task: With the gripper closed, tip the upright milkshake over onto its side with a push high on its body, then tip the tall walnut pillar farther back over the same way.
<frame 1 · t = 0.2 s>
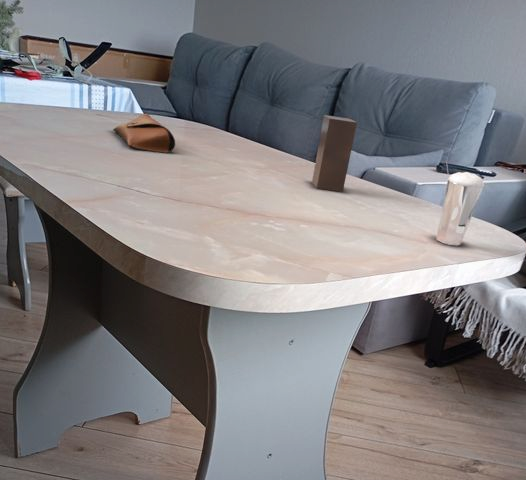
walnut pillar: (327, 187, 104), on the table
sunglasses case: (141, 142, 116), on the table
milkshake: (444, 242, 83), on the table
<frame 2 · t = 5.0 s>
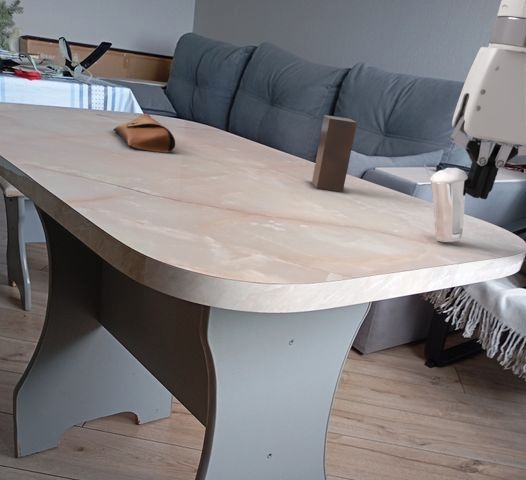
hand: (475, 195, 80), 6 cm above the table, tool pointing down, fingers closed
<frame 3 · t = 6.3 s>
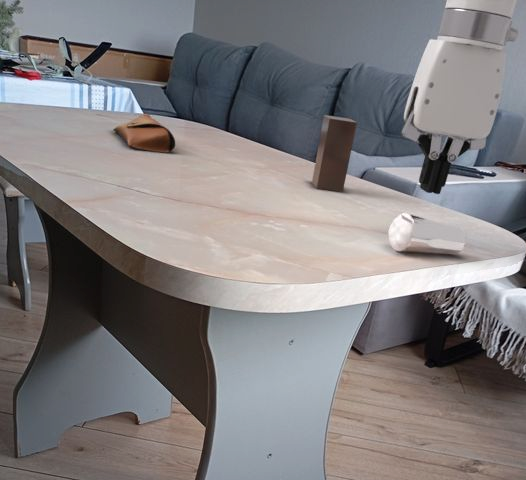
hand: (429, 190, 79), 6 cm above the table, tool pointing down, fingers closed
milkshake: (461, 240, 76), point 2 cm above the table
everything else where it was.
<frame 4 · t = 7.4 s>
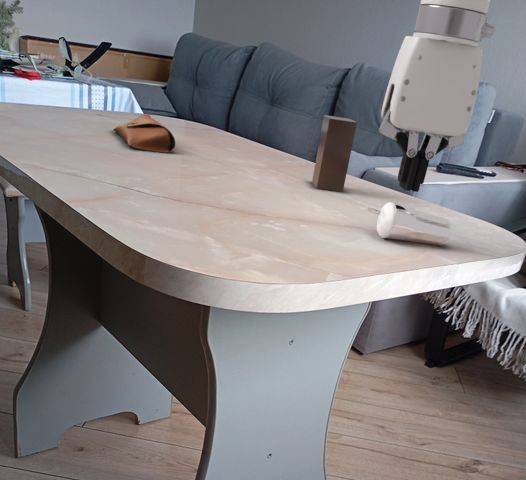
hand: (408, 188, 79), 6 cm above the table, tool pointing down, fingers closed
milkshake: (445, 231, 80), point 2 cm above the table
everything else where it was.
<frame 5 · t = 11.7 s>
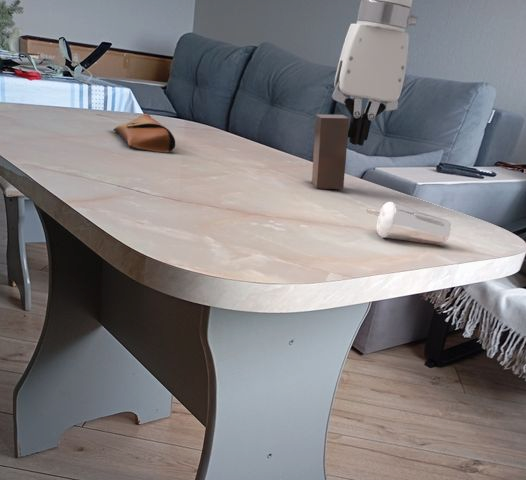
hand: (355, 143, 101), 8 cm above the table, tool pointing down, fingers closed
walnut pillar: (327, 185, 104), on the table, tilted 7°
everything else where it was.
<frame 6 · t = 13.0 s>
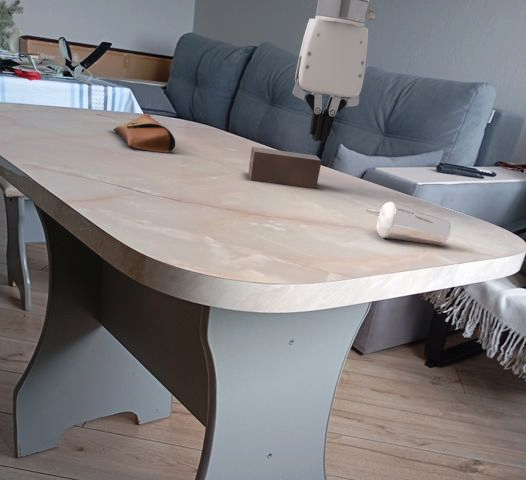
hand: (318, 140, 100), 7 cm above the table, tool pointing down, fingers closed
walnut pillar: (316, 171, 102), point 2 cm above the table, tilted 90°
everything else where it was.
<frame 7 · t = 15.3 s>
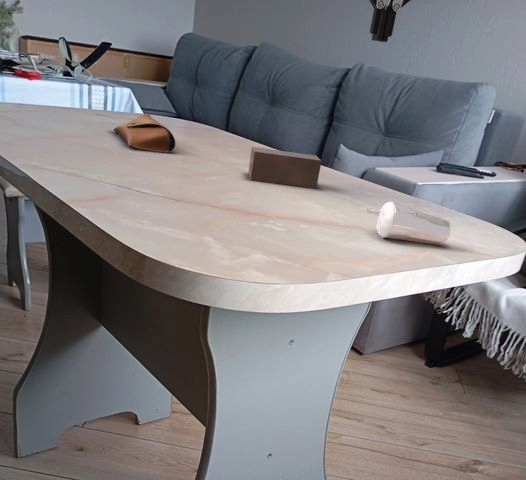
hand: (379, 40, 91), 23 cm above the table, tool pointing down, fingers closed
nothing on the table moved.
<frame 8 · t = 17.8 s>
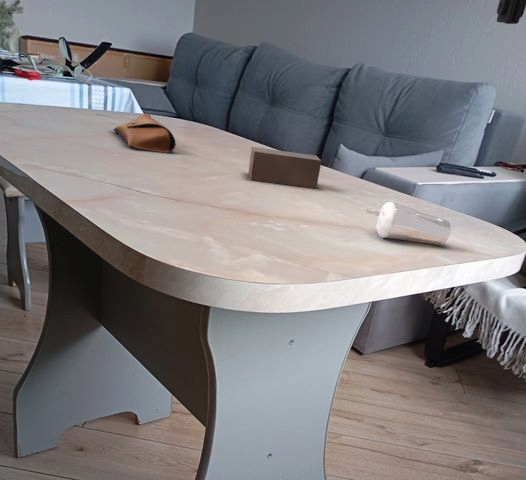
hand: (507, 22, 81), 27 cm above the table, tool pointing down, fingers closed
nothing on the table moved.
at the end: milkshake tilted 85°; walnut pillar tilted 90° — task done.
